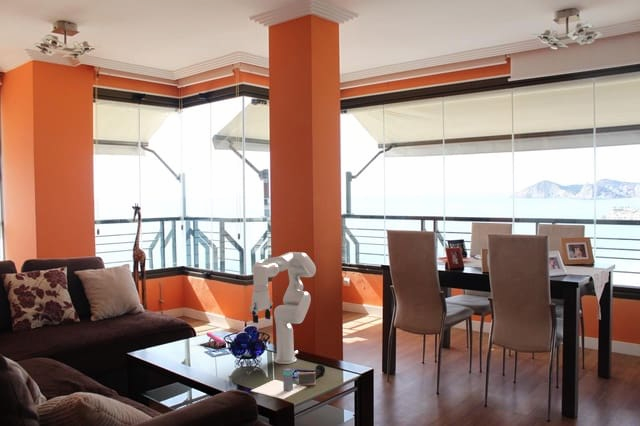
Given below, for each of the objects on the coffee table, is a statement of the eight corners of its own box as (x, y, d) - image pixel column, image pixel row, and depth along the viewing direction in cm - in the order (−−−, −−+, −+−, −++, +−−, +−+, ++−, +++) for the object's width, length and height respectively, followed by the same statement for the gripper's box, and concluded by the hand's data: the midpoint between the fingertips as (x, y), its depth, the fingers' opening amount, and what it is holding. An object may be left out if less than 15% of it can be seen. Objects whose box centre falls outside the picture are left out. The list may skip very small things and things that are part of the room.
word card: (297, 384, 272) (297, 372, 272) (315, 383, 273) (315, 372, 273) (297, 385, 271) (297, 373, 271) (315, 384, 272) (315, 372, 271)
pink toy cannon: (215, 340, 360) (215, 329, 360) (236, 345, 347) (236, 334, 347) (197, 345, 349) (197, 334, 348) (218, 351, 336) (217, 339, 336)
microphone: (310, 390, 273) (325, 374, 290) (312, 381, 271) (327, 365, 288) (300, 386, 275) (317, 370, 292) (303, 376, 273) (319, 361, 290)
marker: (287, 388, 267) (287, 368, 266) (293, 389, 265) (292, 369, 264) (283, 390, 264) (282, 370, 264) (288, 391, 262) (288, 371, 262)
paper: (274, 380, 280) (274, 379, 280) (306, 387, 268) (306, 386, 268) (250, 391, 265) (250, 390, 265) (283, 399, 254) (283, 398, 254)
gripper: (266, 285, 297) (267, 316, 297) (244, 290, 283) (245, 323, 283) (277, 286, 293) (277, 318, 293) (255, 291, 278) (256, 325, 279)
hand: (261, 320), depth 288 cm, fingers open, 9 cm apart
